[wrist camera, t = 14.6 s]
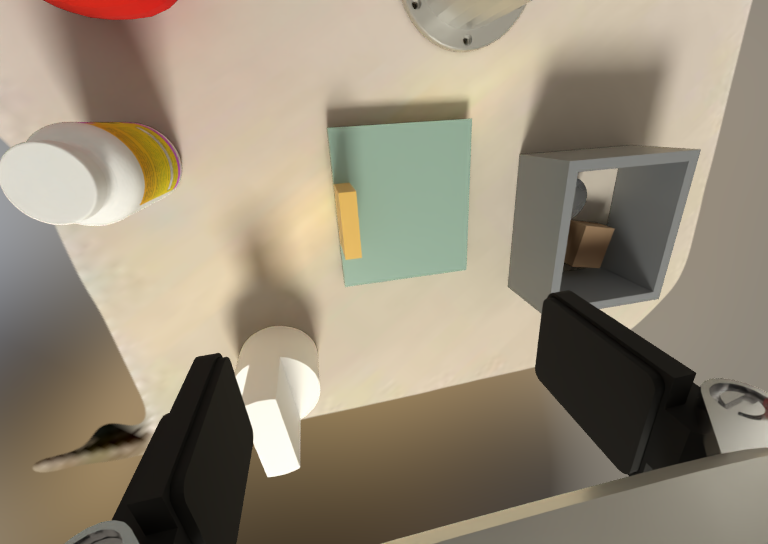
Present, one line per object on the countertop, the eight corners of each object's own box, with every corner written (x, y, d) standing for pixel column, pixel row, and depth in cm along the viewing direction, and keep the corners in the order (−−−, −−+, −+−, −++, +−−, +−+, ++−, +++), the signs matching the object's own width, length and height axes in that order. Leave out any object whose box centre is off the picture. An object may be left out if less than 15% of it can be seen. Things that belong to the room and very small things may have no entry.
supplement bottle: (144, 106, 30) (44, 95, 18) (200, 174, 33) (144, 202, 21) (80, 149, 30) (-60, 165, 19) (141, 213, 33) (53, 262, 21)
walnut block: (568, 219, 43) (586, 225, 40) (595, 222, 44) (614, 228, 41) (556, 257, 45) (572, 266, 42) (582, 259, 46) (599, 268, 43)
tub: (519, 154, 38) (569, 161, 31) (630, 145, 41) (700, 149, 34) (507, 286, 45) (547, 317, 38) (604, 272, 47) (658, 298, 40)
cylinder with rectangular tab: (325, 378, 44) (332, 460, 34) (252, 397, 43) (235, 488, 32) (308, 317, 41) (310, 387, 30) (228, 336, 40) (200, 416, 29)
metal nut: (579, 207, 42) (589, 211, 40) (539, 223, 42) (547, 228, 40) (572, 167, 40) (582, 169, 38) (530, 184, 40) (538, 187, 39)
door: (326, 127, 34) (331, 128, 28) (463, 118, 36) (497, 117, 30) (343, 279, 40) (350, 308, 34) (459, 263, 42) (486, 287, 36)
